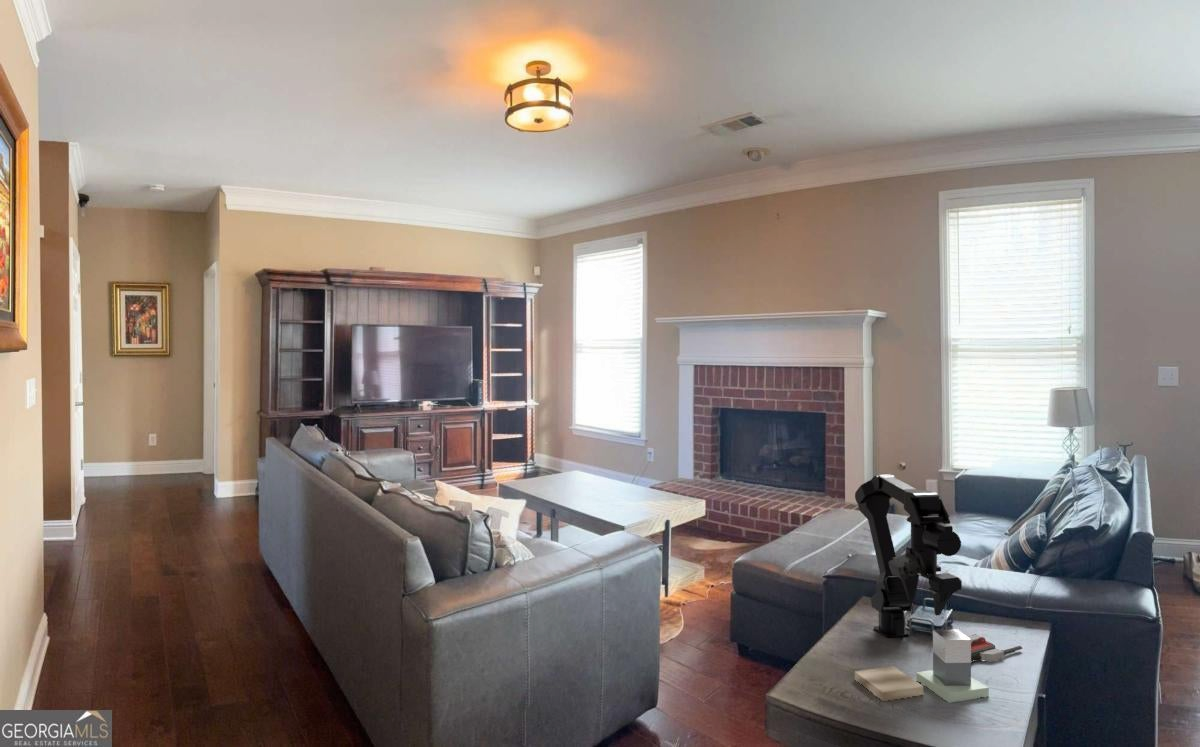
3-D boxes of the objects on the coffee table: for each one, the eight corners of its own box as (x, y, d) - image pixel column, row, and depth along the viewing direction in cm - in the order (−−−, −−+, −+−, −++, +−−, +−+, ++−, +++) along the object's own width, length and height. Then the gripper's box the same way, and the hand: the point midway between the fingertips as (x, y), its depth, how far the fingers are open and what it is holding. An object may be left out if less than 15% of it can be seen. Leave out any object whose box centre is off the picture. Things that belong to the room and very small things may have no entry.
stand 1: (854, 680, 154) (854, 671, 154) (893, 674, 157) (893, 666, 157) (882, 701, 145) (882, 692, 145) (923, 695, 147) (923, 686, 147)
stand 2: (916, 681, 154) (916, 672, 154) (954, 675, 156) (954, 667, 156) (948, 702, 144) (948, 693, 144) (988, 696, 146) (988, 687, 146)
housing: (933, 674, 153) (932, 629, 152) (957, 673, 153) (957, 629, 152) (945, 685, 147) (945, 640, 147) (970, 685, 147) (970, 639, 147)
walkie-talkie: (969, 671, 159) (1025, 654, 167) (969, 652, 159) (1025, 637, 167) (936, 656, 167) (991, 641, 175) (936, 638, 167) (992, 624, 175)
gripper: (870, 537, 172) (870, 598, 173) (921, 557, 154) (921, 626, 154) (908, 533, 175) (909, 594, 175) (963, 553, 157) (963, 621, 157)
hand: (923, 608), depth 165 cm, fingers open, 9 cm apart
